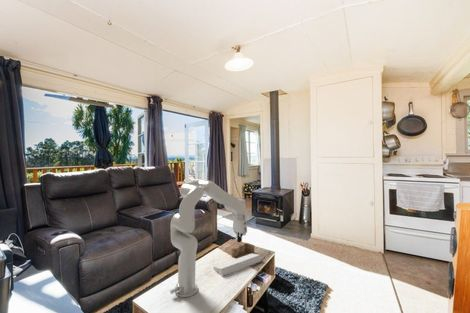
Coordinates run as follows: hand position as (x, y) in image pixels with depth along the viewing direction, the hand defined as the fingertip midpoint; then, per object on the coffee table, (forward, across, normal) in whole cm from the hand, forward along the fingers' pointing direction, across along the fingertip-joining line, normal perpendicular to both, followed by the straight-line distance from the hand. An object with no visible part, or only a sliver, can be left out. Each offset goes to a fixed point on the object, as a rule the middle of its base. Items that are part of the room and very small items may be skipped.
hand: (239, 241), depth 152 cm
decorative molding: (+16, -2, +3) cm, 16 cm away
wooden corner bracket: (+15, +5, -12) cm, 20 cm away
